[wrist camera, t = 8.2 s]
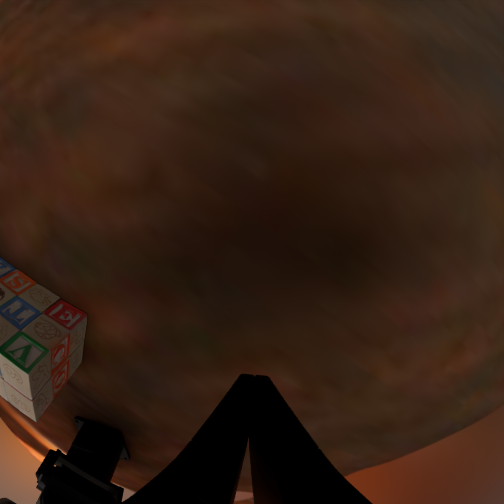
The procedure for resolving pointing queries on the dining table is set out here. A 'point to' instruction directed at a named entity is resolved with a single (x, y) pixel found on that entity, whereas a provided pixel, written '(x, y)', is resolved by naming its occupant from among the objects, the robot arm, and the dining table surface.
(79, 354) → the stack of blocks
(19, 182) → the dining table surface
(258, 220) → the dining table surface
